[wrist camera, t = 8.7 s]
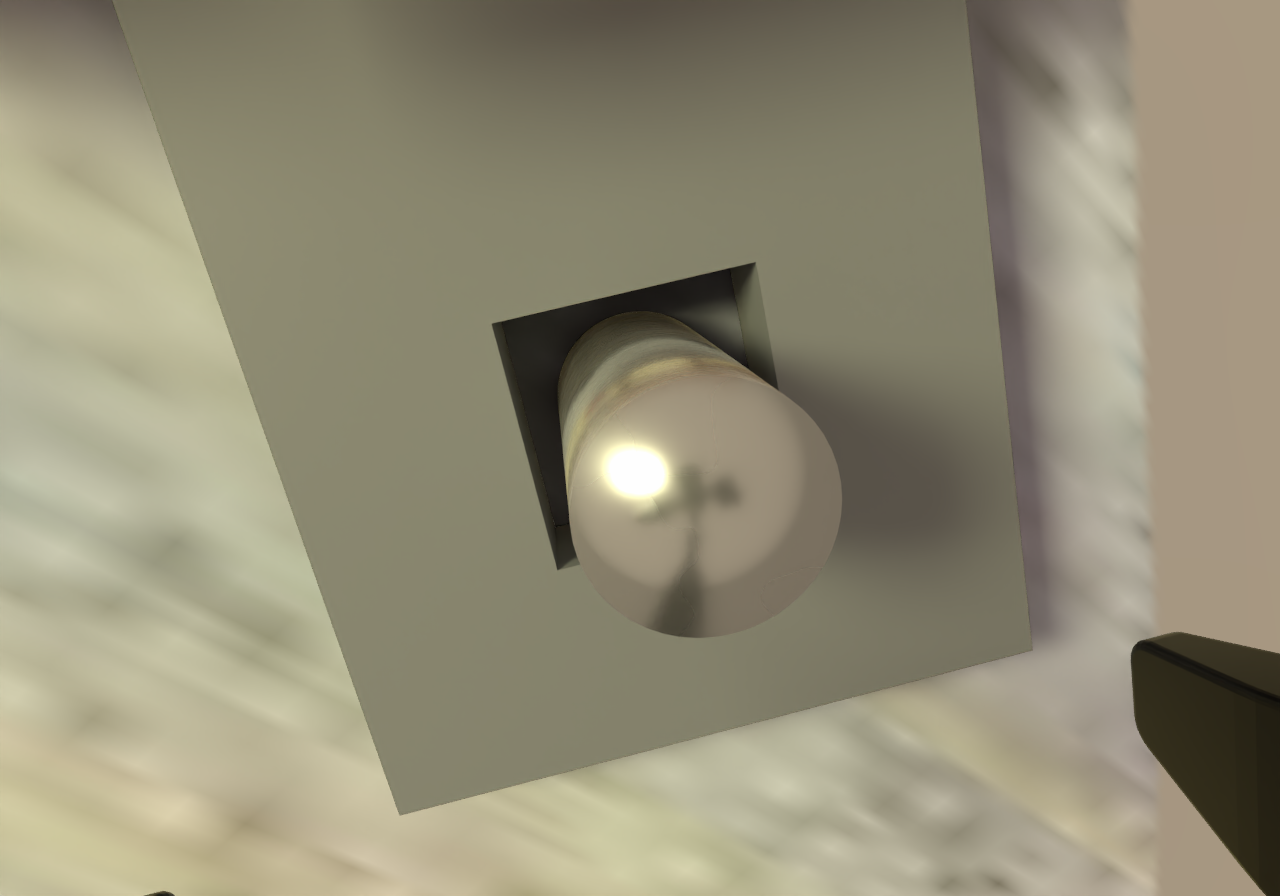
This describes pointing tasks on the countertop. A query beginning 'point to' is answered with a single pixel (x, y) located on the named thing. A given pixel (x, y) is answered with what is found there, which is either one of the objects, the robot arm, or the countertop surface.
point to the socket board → (579, 272)
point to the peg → (690, 480)
